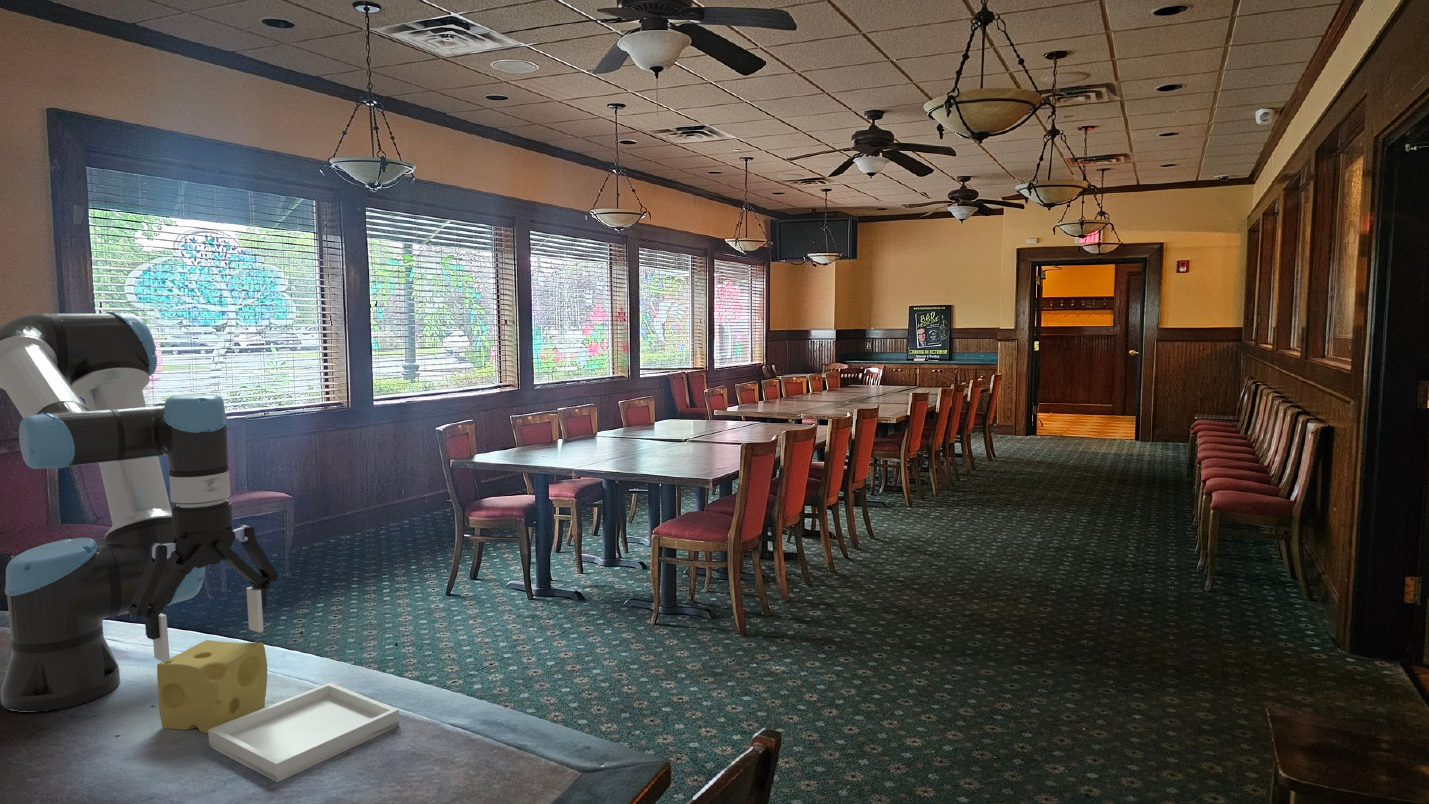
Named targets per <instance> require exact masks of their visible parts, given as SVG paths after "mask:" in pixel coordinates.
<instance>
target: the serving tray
mask: <svg viewBox="0 0 1429 804" xmlns="http://www.w3.org/2000/svg"><path fill="white" fill-rule="evenodd" d="M398 727H400V709H398V708H396V707H393V706H390V705H388V704H385V703H384V702H380V701H378V700H375V699H372V698H370V697H367V696H365V695H362V694H361V693H359V692H355V691H353V690H350V689H348V688H345V687H343V686H340V685H337V684H335V683H332V682H327V683H326V684H322V685H320V686H318V687H315V688H312V689H310V690H307V691H304V692H302V693H299V694H297V695H293V696H291V697H289V698H287V699H283V700H281V701H279V702H276V703H273V704H271V705H268V706H264V707H262V708H261V709H259V710H258V711H255V712H253V713H250V714H247V715H245V716H242V717H240V718H237V719H234V720H232V721H229V722H227V723H224V724H221V725H219V726H216V727H214V728H211V729H208V733H207V734H208V735H207V736H208V747H209V748H210V749H213V750H214V751H217V752H218V753H220V754H222V755H224V756H225V757H228V758H230V759H231V760H234V761H236V762H237V763H239V764H241V765H243V766H245V767H247V768H249V769H250V770H253V771H254V772H256V773H258V774H260V775H262V776H264V777H266V778H268V779H270V780H272V781H274V782H276V783H280V782H282V781H283V780H285V779H288V778H289V777H292V776H294V775H296V774H298V773H301V772H303V771H305V770H307V769H309V768H312V767H314V766H316V765H318V764H320V763H322V762H324V761H327V760H330V759H331V758H333V757H335V756H338V755H340V754H341V753H344V752H346V751H348V750H350V749H353V748H355V747H357V746H359V745H361V744H363V743H365V742H369V741H370V740H373V739H374V738H376V737H379V736H381V735H382V734H385V733H387V732H389V731H391V730H394V729H396V728H398Z"/></svg>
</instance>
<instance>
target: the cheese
mask: <svg viewBox="0 0 1429 804" xmlns="http://www.w3.org/2000/svg"><path fill="white" fill-rule="evenodd" d="M169 658H170V660H169V661H166V662H163V661H161V662H159V663H158V664H156V665H157V666H156V669H157V670H156V674H157V675H156V677H157V680H156V682H157V691H158V692H157V693H158V696H157V697H158V708H159V709H158V710H159V716H160V722H161V727H162V728H163V729H168V730H169V729H170V730H179V731H180V730H182V731H183V730H184V731H186V730H187V731H189V730H194V729H196V728H198V731H199V732H200V733H205V734H208V729H211V728H214V727H216V726H219V725H221V724H224V723H227V722H229V721H232V720H234V719H237V718H240V717H242V716H245V715H247V714H250V713H253V712H255V711H258V710H260V709H263V708H265V707H266V705H265V704H266V703H265V702H266V695H267V687H268V686H267V684H268V660H267V654H266V648H265V644H264V643H263V642H231V641H230V642H229V641H220V640H210V639H207V640H206V639H205V640H204V641H201V642H199V643H198V644H195V645H193V646H192V647H190V648H188V649H186V650H184V651H182V652H181V653H178V654H176V655H174V656H172V657H169Z"/></svg>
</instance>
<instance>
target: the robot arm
mask: <svg viewBox="0 0 1429 804" xmlns="http://www.w3.org/2000/svg"><path fill="white" fill-rule="evenodd" d="M156 351H157V349H156V343H155V341H154V337H153V335H152V333H151V330H150V328H149V326H148V325H147V323H146V322H145V321H144V320H143V319H142V318H141V317H139V316H137V315H135V314H133V313H125V312H123V313H119V312H118V313H117V312H113V311H106V312H104V313H103V312H101V313H99V312H98V313H93V312H91V313H43V312H42V313H32V314H27V315H23V316H19V317H16V318H14V319H12V320H9V321H7V322H6V323H4V324H2V325H0V389H2V390H4V391H5V393H6V394H7V395H8V397H9V398H10V400H11V401H12V403H13V405H14V407H15V408H16V409H17V411H18V412H19V414H20V415H21V417H22V419H21V421H20V423H19V427H18V438H19V439H18V440H19V448H20V453H21V455H22V459H23V462H24V464H25V465H26V466H27V467H29V468H31V469H35V470H38V469H40V470H41V469H64V468H67V467H75V466H82V465H83V466H85V465H91V464H99V468H100V473H101V478H102V483H103V487H104V490H105V496H106V501H107V505H108V506H107V507H108V510H109V515H110V519H111V523H112V525H111V527H110V529H109V530H108V531H107V532H106V533H105V534H104V542H105V544H103V545H101V544H100V545H99V544H98V542H96V540H95V539H94V538H91V537H76V538H73V539H70V538H69V539H61V540H57V541H53V542H48V543H45V544H41V545H39V546H35V547H32V548H29V549H27V550H25V551H23V552H21V553H19V554H17V555H16V556H15V557H13V558H12V559H11V560H9V562H8V563H7V566H6V568H5V588H4V593H5V595H6V597H7V598H6V599H7V607H8V617H9V618H8V620H9V632H10V644H11V655H10V659H9V662H8V665H7V668H6V672H5V675H4V678H3V682H2V685H1V688H0V698H1V699H0V700H1V706H2V705H3V706H4V707H5V708H7V709H13V710H18V711H28V712H29V711H45V710H51V709H58V710H63V709H66V708H71V707H76V706H78V705H82V704H85V703H88V702H91V701H94V700H95V699H98V698H100V697H103V696H104V695H107V694H108V693H110V692H112V691H114V689H115V688H117V686H119V684H120V682H121V675H120V666H119V664H118V662H117V660H116V658H115V656H114V654H113V652H112V650H111V648H110V646H109V644H108V643H107V641H106V638H105V636H104V626H103V623H104V620H105V619H108V618H112V617H117V616H121V615H127V614H132V615H134V616H137V617H144V624H145V636H146V637H147V639H149V640H152V642H153V654H154V655H153V657H154V659H156V660H158V661H161V662H166V661H169V660H170V658H171V657H170V648H169V647H170V646H169V634H168V632H169V631H168V630H169V629H168V620H167V619H168V618H167V614H164V613H162V611H163V610H164V609H165V607H169V606H172V604H177V603H179V602H180V603H181V602H183V601H187V600H190V599H192V598H194V597H196V595H198V593H199V592H200V591H201V588H202V586H203V582H204V578H205V571H206V567H207V566H208V565H218V564H220V563H221V561H223V562H225V563H226V564H227V565H228V566H229V567H230V568H231V569H233V570H234V571H235V572H236V573H237V574H239V575H240V576H241V577H242V578H243V579H245V581H247V582H248V583H249V584H251V585H252V586H249V587H246V588H245V589H246V604H247V618H248V619H247V620H248V630H249V631H253V632H256V633H262V632H264V617H263V616H264V615H263V609H265V608H266V607H267V605H268V601H267V600H268V599H267V589H269V588H270V587H271V583H272V582H276V581H277V580H278V579H279V574H278V572H277V571H276V569H275V568H274V566H273V564H272V562H271V561H270V560H269V558H268V556H267V555H266V553H265V552H264V551H263V550H264V549H263V548H262V547H261V545H260V544H259V542H258V541H257V537H256V532H255V531H256V530H255V528H254V527H253V526H250V525H245V524H239V525H238V527H237V528H235V529H233V528H232V525H233V513H232V511H233V509H232V502H231V501H230V500H229V499H228V498H229V497H230V496H231V482H230V471H229V469H230V468H229V453H228V450H229V449H228V433H227V423H228V422H227V421H228V417H227V414H226V409H225V403H224V400H223V398H222V396H220V395H218V394H211V393H210V394H208V393H197V394H182V395H174V396H171V397H168V398H167V399H166V400H165V401H164V402H163V403H162V402H161V403H156V404H153V405H151V406H150V405H149V406H147V403H146V401H145V395H144V392H143V390H144V388H146V387H147V386H148V384H149V383H150V376H153V374H155V371H156V370H157V365H158V357H157V354H156ZM81 398H82V399H84V401H83V400H82V399H81ZM164 456H165V457H166V456H167V462H168V463H167V464H168V474H169V475H168V477H169V491H170V493H169V494H170V500H169V496H168V492H167V487H166V482H165V478H164V474H163V471H162V466H161V461H160V457H164ZM170 502H171V503H172V504H175V505H173V507H172V508H171V504H170ZM235 540H236V541H238V542H240V544H241V546H242V547H243V549H244V550H245V552H246V554H247V555H248V557H249V558H250V559H251V561H252V562H253V564H254V566H255V568H256V569H257V571H258V572H259V573H258V572H257V571H256V570H254V569H253V568H252V567H251V566H250V565H249V564H248V563H246V562H245V561H244V560H243V559H241V558H240V555H238V554H237V553H236V552H235V551H234V550H233V549H231V547H232V546H233V543H234V542H235ZM3 706H2V707H3ZM5 708H4V709H5ZM45 712H46V711H45Z"/></svg>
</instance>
